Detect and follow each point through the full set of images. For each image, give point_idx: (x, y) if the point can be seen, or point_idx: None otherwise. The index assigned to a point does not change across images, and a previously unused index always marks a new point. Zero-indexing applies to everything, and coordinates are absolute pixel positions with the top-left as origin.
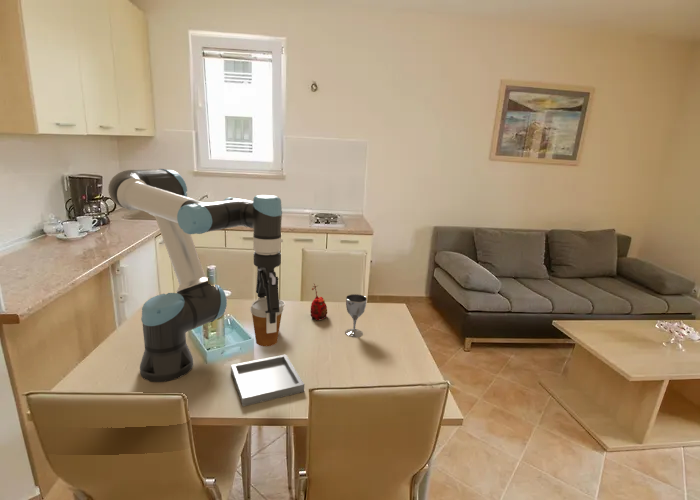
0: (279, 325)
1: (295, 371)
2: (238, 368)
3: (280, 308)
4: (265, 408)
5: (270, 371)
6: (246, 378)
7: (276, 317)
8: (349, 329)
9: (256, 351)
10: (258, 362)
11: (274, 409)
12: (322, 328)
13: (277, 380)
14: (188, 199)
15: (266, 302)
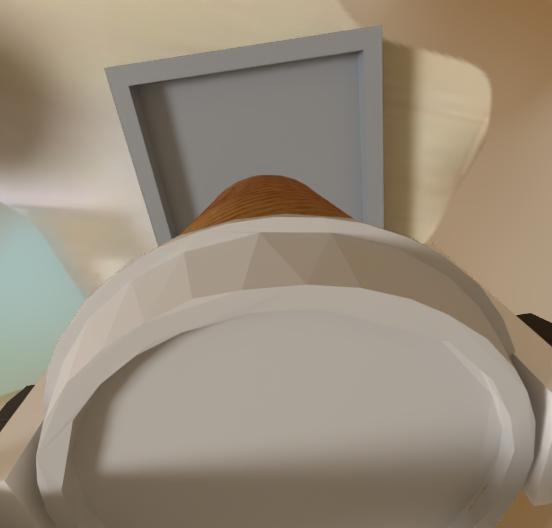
0: (325, 203)
1: (269, 48)
2: None
3: (470, 312)
4: (410, 196)
5: (212, 158)
6: None
7: (524, 326)
8: None
9: (32, 195)
10: (163, 206)
11: (427, 168)
12: None
13: (282, 138)
14: None
15: (175, 480)
